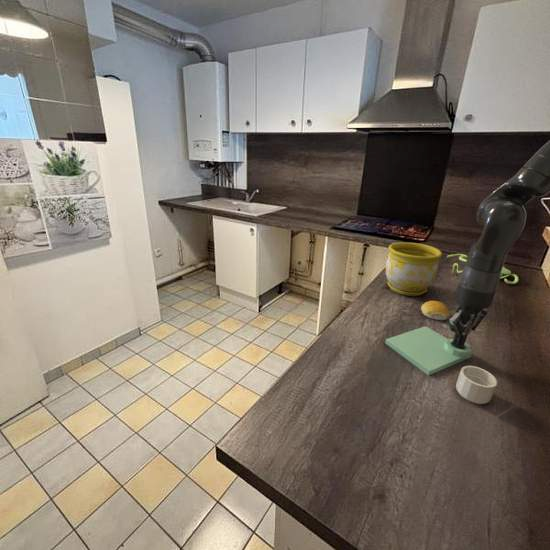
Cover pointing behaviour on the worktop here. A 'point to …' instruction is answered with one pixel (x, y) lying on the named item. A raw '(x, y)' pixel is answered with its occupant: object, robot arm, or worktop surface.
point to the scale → (428, 349)
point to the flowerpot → (411, 267)
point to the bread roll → (435, 310)
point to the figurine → (504, 271)
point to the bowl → (476, 384)
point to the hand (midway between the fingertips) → (458, 344)
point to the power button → (457, 346)
